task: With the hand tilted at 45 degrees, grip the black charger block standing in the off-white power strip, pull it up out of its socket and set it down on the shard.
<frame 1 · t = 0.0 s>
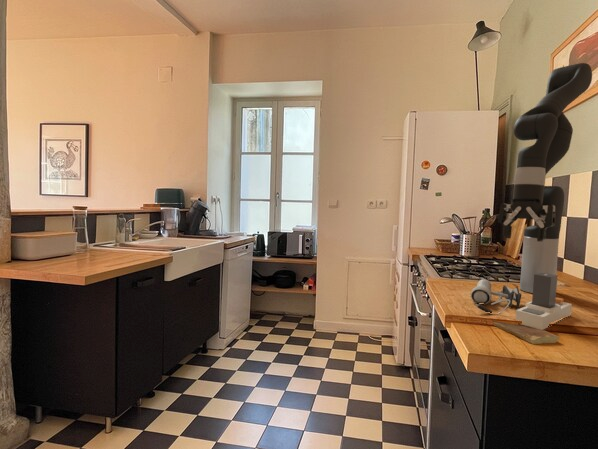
hand: (523, 239, 105), 17 cm above the countertop, tool pointing down, fingers open, 8 cm apart
clip-on lamp: (494, 307, 97), on the countertop
shard: (523, 339, 76), on the countertop
power strip: (543, 319, 87), on the countertop
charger: (543, 307, 87), point 3 cm above the countertop, touching power strip
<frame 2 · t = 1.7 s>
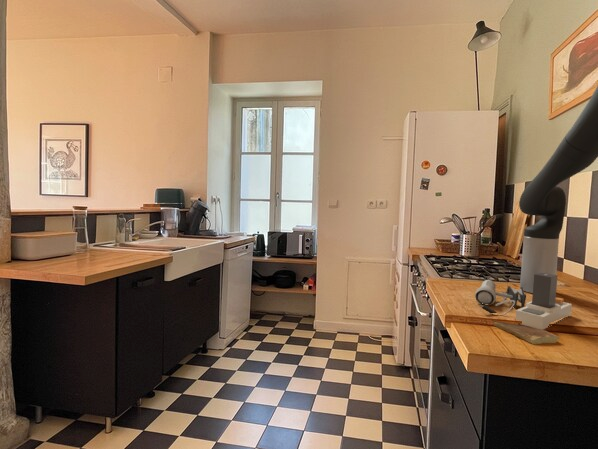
clip-on lamp: (498, 308, 96), on the countertop
everything else where it was.
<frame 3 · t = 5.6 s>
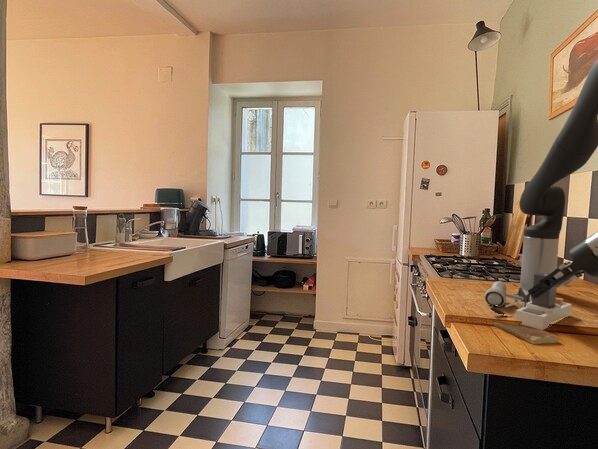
hand: (535, 293, 88), 6 cm above the countertop, tool tilted 45°, fingers closed on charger, 4 cm apart
clip-on lamp: (508, 310, 95), on the countertop
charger: (543, 307, 87), point 3 cm above the countertop, touching gripper, power strip
everything else where it was.
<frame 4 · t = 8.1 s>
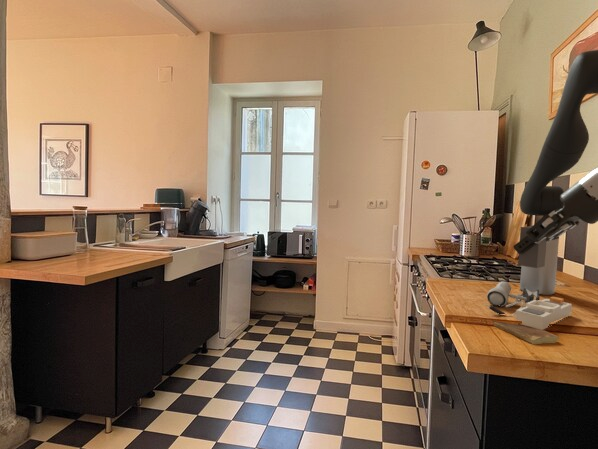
hand: (521, 249, 76), 18 cm above the countertop, tool tilted 45°, fingers closed on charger, 4 cm apart
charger: (531, 265, 75), point 15 cm above the countertop, touching gripper
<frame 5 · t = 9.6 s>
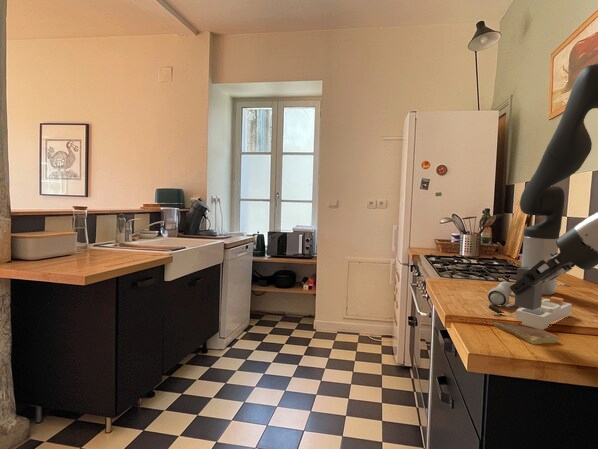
hand: (518, 289, 77), 9 cm above the countertop, tool tilted 45°, fingers closed on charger, 4 cm apart
clip-on lamp: (511, 310, 95), on the countertop, touching power strip
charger: (527, 306, 76), point 6 cm above the countertop, touching gripper
everything else where it was.
when the fingers open (6 cm above the countertop, at t = 10.6 s): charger drops 2 cm, point 1 cm above the countertop.
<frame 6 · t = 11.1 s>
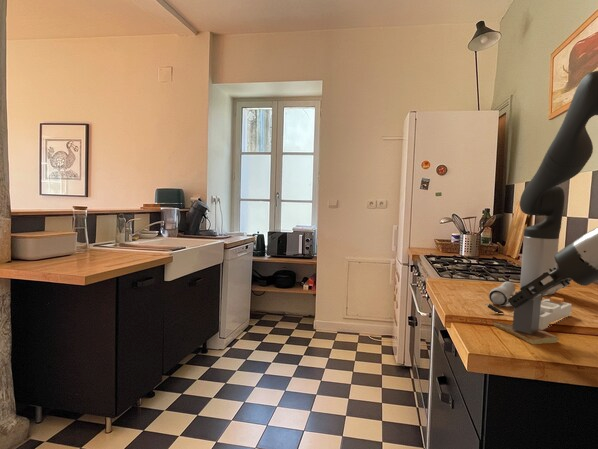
hand: (520, 301, 77), 7 cm above the countertop, tool tilted 45°, fingers open, 8 cm apart
clip-on lamp: (511, 310, 95), on the countertop
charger: (525, 329, 76), point 1 cm above the countertop
everything else where it was.
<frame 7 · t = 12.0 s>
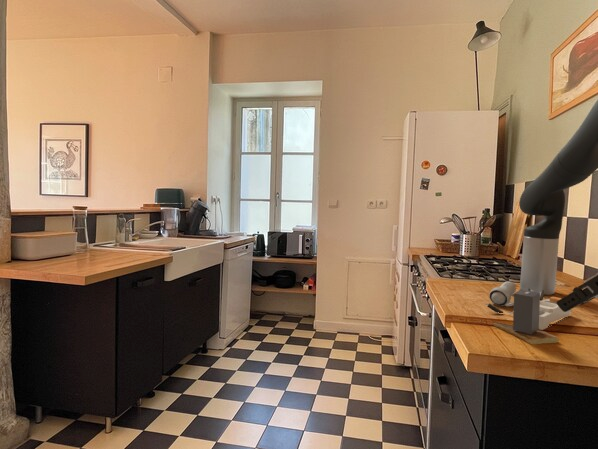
hand: (568, 303, 69), 9 cm above the countertop, tool tilted 45°, fingers open, 8 cm apart
nothing on the countertop moved.
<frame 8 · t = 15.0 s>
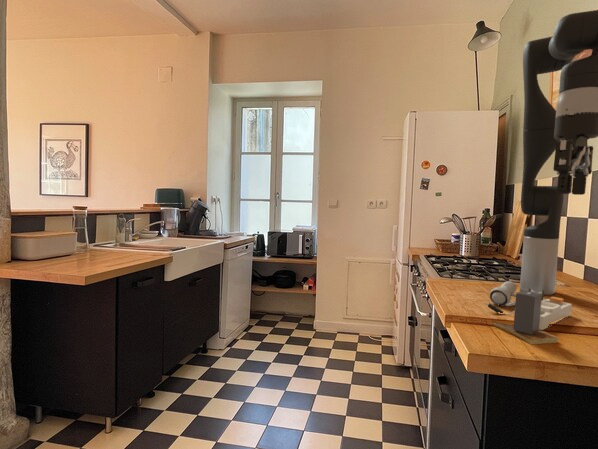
hand: (571, 194, 75), 30 cm above the countertop, tool pointing down, fingers open, 8 cm apart
nothing on the countertop moved.
at the end: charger 0.9 cm from the shard (horizontally); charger point 1.1 cm above the countertop; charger tilted 1° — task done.
